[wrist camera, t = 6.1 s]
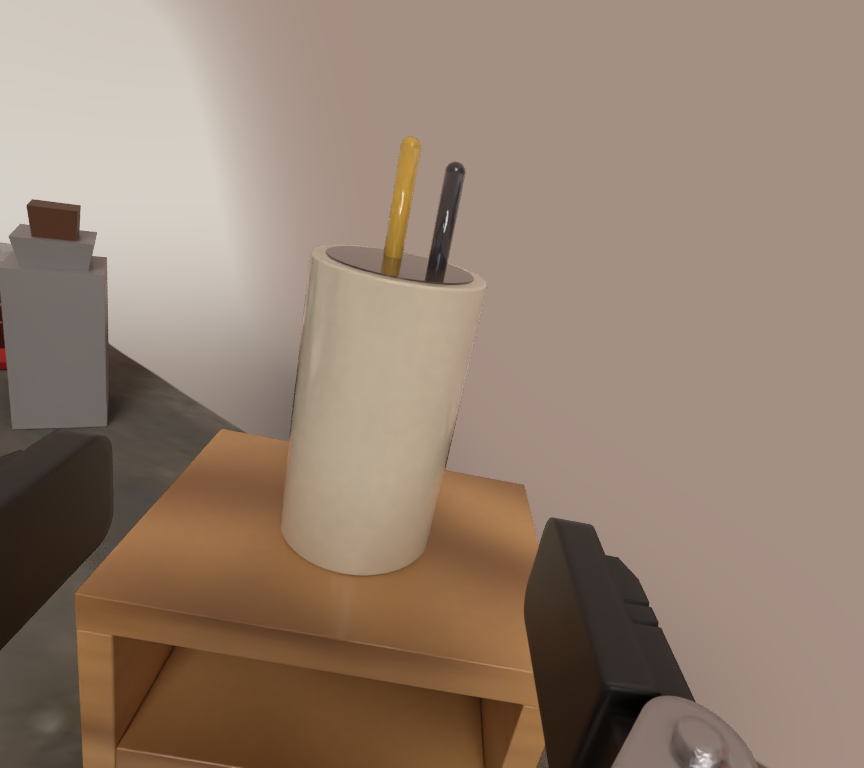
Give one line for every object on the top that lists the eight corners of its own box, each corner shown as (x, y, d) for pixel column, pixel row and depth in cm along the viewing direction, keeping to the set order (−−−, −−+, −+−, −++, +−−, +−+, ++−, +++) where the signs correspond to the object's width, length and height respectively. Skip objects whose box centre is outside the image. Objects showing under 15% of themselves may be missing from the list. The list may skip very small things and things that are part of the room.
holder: (390, 601, 20) (486, 141, 14) (246, 535, 21) (284, 104, 16) (449, 516, 25) (534, 162, 20) (331, 469, 27) (380, 133, 22)
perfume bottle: (107, 426, 49) (102, 218, 43) (12, 429, 46) (-8, 205, 39) (109, 394, 54) (105, 205, 48) (24, 395, 51) (9, 193, 45)
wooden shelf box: (487, 896, 22) (571, 678, 18) (85, 834, 22) (73, 593, 17) (475, 654, 33) (524, 484, 29) (210, 608, 33) (221, 428, 29)
